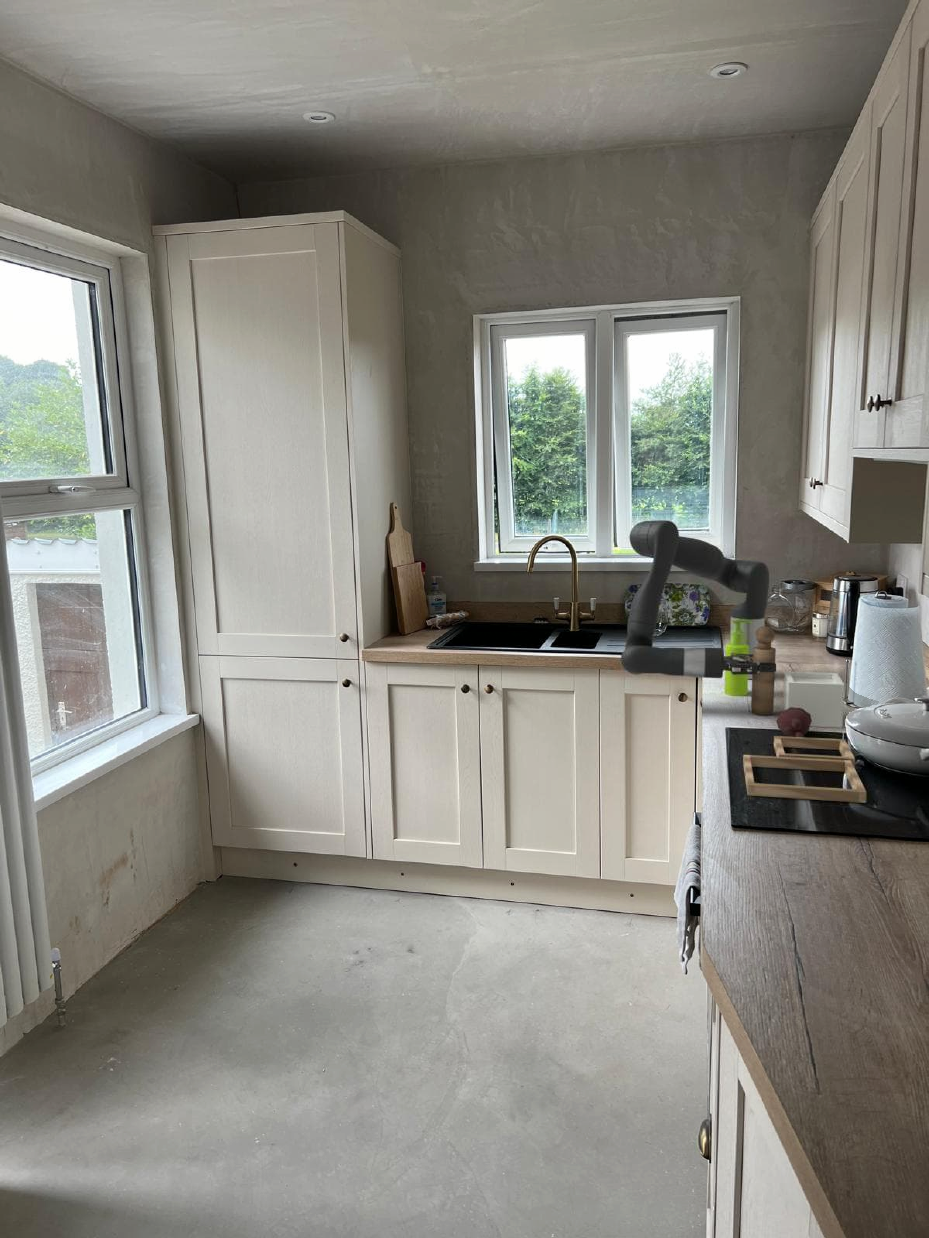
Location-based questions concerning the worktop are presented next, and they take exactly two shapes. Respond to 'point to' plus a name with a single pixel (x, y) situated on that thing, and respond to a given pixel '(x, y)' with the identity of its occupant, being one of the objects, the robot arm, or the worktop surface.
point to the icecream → (794, 722)
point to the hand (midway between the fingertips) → (774, 664)
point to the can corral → (815, 744)
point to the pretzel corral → (804, 791)
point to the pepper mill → (763, 673)
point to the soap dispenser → (738, 683)
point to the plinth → (815, 696)
